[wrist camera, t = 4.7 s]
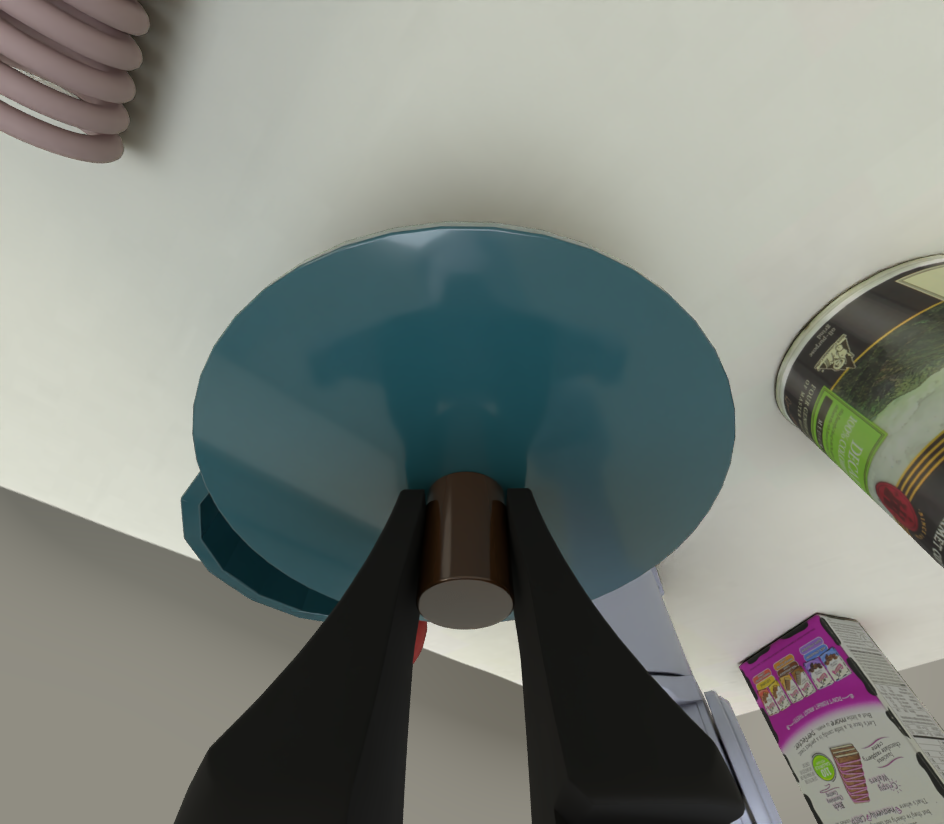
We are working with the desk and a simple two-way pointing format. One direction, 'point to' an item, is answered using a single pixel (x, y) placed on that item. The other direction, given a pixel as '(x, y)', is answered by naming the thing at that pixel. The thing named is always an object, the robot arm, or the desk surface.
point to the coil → (70, 72)
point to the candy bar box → (849, 726)
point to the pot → (243, 560)
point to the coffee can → (879, 392)
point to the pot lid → (463, 412)
